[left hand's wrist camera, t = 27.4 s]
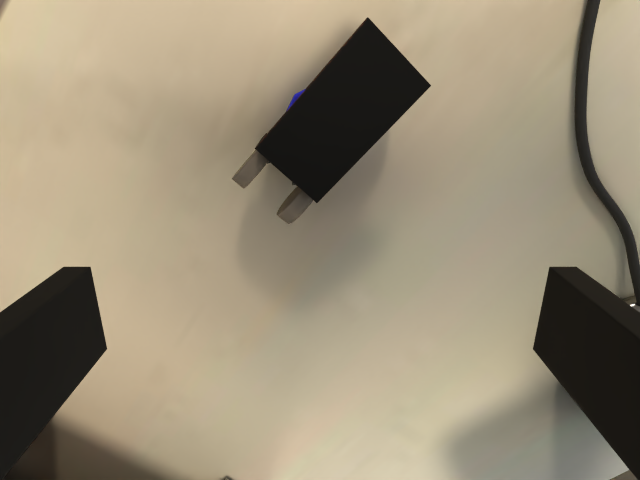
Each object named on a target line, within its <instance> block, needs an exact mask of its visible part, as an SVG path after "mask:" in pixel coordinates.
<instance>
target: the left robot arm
mask: <svg viewBox="0 0 640 480" xmlns="http://www.w3.org/2000/svg"><path fill="white" fill-rule="evenodd" d="M599 4H600V0H588V3H587V7H586V12H585V17H584V22H583V27H582V32H581V38H580V44H579V52H578V60H577V73H576V92H575V131H576V140H577V146H578V152H579V156H580V160H581V164H582V167H583V170H584V173H585V175H586V178H587V180H588V182H589V184H590V185H591V187H592V189H593V190H594V192H595V193H596V195H597V196H598V197H599V199H600V200H601V201H602V203H603V204H604V205H605V206H606V208H607V209H608V210H609V212H610V213H611V215H612V216H613V218H614V219H615V221H616V223H617V225H618V227H619V229H620V231H621V234H622V236H623V239H624V243H625V247H626V252H627V258H628V264H629V269H630V274H631V279H632V283H633V288H634V293H635V296H632V297H629V298H626V299H623V300H622V299H620V298H619V297H618V296H616V295H615V294H613V293H612V292H611V291H609V290H608V289H606V288H605V287H604V286H602V285H601V284H599V283H598V282H597V281H595V280H594V279H593V278H591V277H590V276H588V275H587V274H586V273H584V272H583V271H581V270H580V269H579V268H577V267H549V272H548V277H547V282H546V287H545V292H544V297H543V302H542V307H541V312H540V317H539V322H538V327H537V332H536V337H535V342H534V346H533V350H534V351H535V352H536V353H537V355H538V356H539V357H540V358H541V360H542V361H543V362H544V363H545V365H546V366H547V367H548V368H549V370H550V371H551V372H552V373H553V375H554V376H555V377H556V378H557V380H558V381H559V382H560V383H561V385H562V386H563V387H564V388H565V390H566V391H567V392H568V393H569V395H570V396H571V397H572V399H573V400H574V401H575V403H576V404H577V405H578V406H579V408H580V409H581V410H582V411H583V412H584V413H585V415H586V416H587V417H588V418H589V420H590V421H591V422H592V423H593V425H594V426H595V427H596V428H597V430H598V431H599V432H600V433H601V435H602V436H603V437H604V438H605V440H606V441H607V442H608V443H609V445H610V446H611V447H612V448H613V450H614V451H615V452H616V453H617V455H618V456H619V457H620V458H621V460H622V461H623V462H624V463H625V465H626V466H627V467H628V468H629V470H628V471H626V472H624V473H622V474H620V475H618V476H616V477H614V478H612V479H610V480H640V264H639V258H638V252H637V247H636V242H635V239H634V235H633V232H632V230H631V228H630V225H629V223H628V221H627V219H626V218H625V216H624V214H623V213H622V211H621V210H620V208H619V207H618V205H617V204H616V203H615V201H614V200H613V199H612V198H611V196H610V195H609V194H608V192H607V191H606V189H605V188H604V186H603V185H602V183H601V181H600V179H599V178H598V175H597V173H596V171H595V168H594V165H593V161H592V158H591V153H590V149H589V143H588V136H587V122H586V106H587V86H588V70H589V59H590V51H591V44H592V38H593V33H594V27H595V22H596V18H597V13H598V8H599ZM106 350H107V346H106V342H105V337H104V332H103V327H102V322H101V317H100V312H99V307H98V302H97V297H96V292H95V287H94V282H93V277H92V272H91V267H63V268H61V269H60V270H59V271H57V272H56V273H54V274H53V275H52V276H50V277H49V278H47V279H46V280H45V281H43V282H42V283H41V284H39V285H38V286H36V287H35V288H34V289H32V290H31V291H29V292H28V293H27V294H25V295H24V296H22V297H21V298H20V299H18V300H17V301H15V302H14V303H13V304H11V305H10V306H8V307H7V308H6V309H4V310H3V311H2V312H0V480H3V478H4V477H5V476H6V475H7V473H8V472H9V471H10V470H11V468H12V467H13V466H14V465H15V463H16V462H17V461H18V460H19V458H20V457H21V456H22V455H23V453H24V452H25V451H26V450H27V448H28V447H29V446H30V445H31V443H32V442H33V441H34V440H35V438H36V437H37V436H38V435H39V433H40V432H41V431H42V430H43V428H44V427H45V426H46V425H47V423H48V422H49V421H50V420H51V418H52V417H53V416H54V415H55V413H56V412H57V411H58V410H59V408H60V407H61V406H62V405H63V403H64V402H65V401H66V400H67V398H68V397H69V396H70V395H71V393H72V392H73V391H74V390H75V388H76V387H77V386H78V385H79V383H80V382H81V381H82V380H83V378H84V377H85V376H86V375H87V373H88V372H89V371H90V370H91V368H92V367H93V366H94V365H95V363H96V362H97V361H98V360H99V358H100V357H101V356H102V355H103V353H104V352H105V351H106Z"/></svg>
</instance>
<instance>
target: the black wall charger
mask: <svg viewBox="0 0 640 480" xmlns="http://www.w3.org/2000/svg"><path fill="white" fill-rule="evenodd" d="M430 86H431V85H430V84H429V83H428V82H427V81H426V80H425V79H424V77H423V76H422V75H421V74H420V73H419V72H418V71H417V70H416V69H415V68H414V67H413V66H412V64H411V63H410V62H409V61H408V60H407V59H406V58H405V57H404V56H403V55H402V54H401V53H400V52H399V50H398V49H397V48H396V47H395V46H394V45H393V44H392V43H391V42H390V41H389V40H388V39H387V37H386V36H385V35H384V34H383V33H382V32H381V31H380V30H379V29H378V28H377V27H376V26H375V24H374V23H373V22H372V21H371V20H370V19H369V18H366V20H365V21H364V22H363V23H362V24H361V25H360V27H359V28H358V29H357V30H356V31H355V32H354V34H353V35H352V36H351V37H350V38H349V39H348V41H347V42H346V43H345V44H344V45H343V46H342V47H341V49H340V50H339V51H338V52H337V53H336V54H335V56H334V57H333V58H332V59H331V60H330V61H329V63H328V64H327V65H326V66H325V67H324V68H323V70H322V71H321V72H320V73H319V74H318V75H317V77H316V78H315V79H314V80H313V81H312V82H311V84H310V85H309V86H308V87H307V88H306V89H305V90H302V91H300V92H298V93H296V94H295V95H294V97H293V99H292V101H291V103H290V105H289V107H288V109H287V111H286V113H285V114H284V115H283V116H282V117H281V118H280V120H279V121H278V122H277V123H276V124H275V125H274V127H273V128H272V129H271V130H270V131H269V132H268V134H267V133H266V134H265V135H264V136H263V137H262V139H261V140H260V142H259V143H258V145H257V146H256V148H255V149H256V150H255V152H254V153H253V154H252V155H251V156H250V157H249V158H248V160H247V161H246V162H245V163H244V164H243V166H242V167H241V168H240V169H239V170H238V172H237V173H236V174H235V175H234V177H233V178H232V179H233V180H234V181H235V182H237V183H238V184H239V185H240V186H241V187H242V188H245V187H246V186H247V185H248V184H249V183H250V182H251V181H252V180H253V179H254V178H255V177H256V176H257V175H258V173H259V172H260V171H261V170H262V169H263V167H264V166H265V165H266V164H268V163H272V164H273V165H274V166H275V167H276V168H277V169H279V170H280V171H281V172H282V173H283V174H284V175H285V176H286V177H288V178H289V179H290V180H291V181H292V185H297V186H298V187H297V188H296V189H295V190H294V191H293V192H292V193H291V194H290V195H289V196H288V197H287V199H286V200H285V201H284V202H283V204H282V205H281V207H280V208H279V210H278V212H277V215H278V216H279V217H280V218H281V219H283V220H284V221H285V222H286V223H287V224H290V223H292V222H293V221H295V220H296V219H297V218H298V217H299V216H300V215H301V214H302V213H303V212H304V211H305V210H306V209H307V207H308V206H309V205H310V204H311V202H312V201H313V200H314V201H315V202H316V203H318V202H319V201H320V200H321V199H322V197H323V196H324V195H325V194H326V193H327V192H328V191H329V190H330V189H331V188H332V187H333V186H334V185H335V184H336V183H337V182H338V181H339V180H340V179H341V178H342V177H343V176H344V175H345V174H346V173H347V172H348V171H349V170H350V169H351V168H352V167H353V166H354V165H355V164H356V162H357V161H358V160H359V159H360V158H361V157H362V156H363V155H364V154H365V153H366V152H367V151H368V150H369V149H370V148H371V147H372V146H373V145H374V144H375V143H376V142H377V141H378V140H379V139H380V138H381V137H382V136H383V135H384V134H385V133H386V132H387V131H388V130H389V129H390V127H391V126H392V125H393V124H394V123H395V122H396V121H397V120H398V119H399V118H400V117H401V116H402V115H403V114H404V113H405V112H406V111H407V110H408V109H409V108H410V107H411V106H412V105H413V104H414V103H415V102H416V101H417V100H418V99H419V98H420V97H421V96H422V95H423V93H424V92H425V91H426V90H427V89H428V88H429V87H430Z"/></svg>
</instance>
